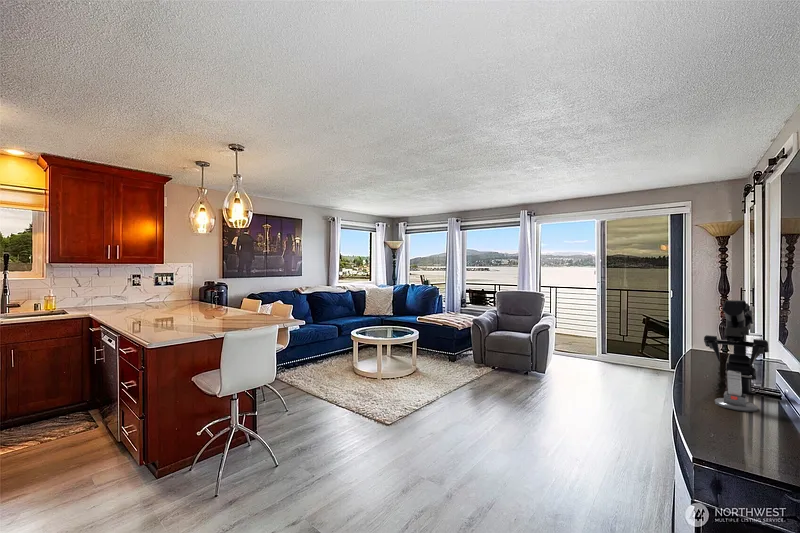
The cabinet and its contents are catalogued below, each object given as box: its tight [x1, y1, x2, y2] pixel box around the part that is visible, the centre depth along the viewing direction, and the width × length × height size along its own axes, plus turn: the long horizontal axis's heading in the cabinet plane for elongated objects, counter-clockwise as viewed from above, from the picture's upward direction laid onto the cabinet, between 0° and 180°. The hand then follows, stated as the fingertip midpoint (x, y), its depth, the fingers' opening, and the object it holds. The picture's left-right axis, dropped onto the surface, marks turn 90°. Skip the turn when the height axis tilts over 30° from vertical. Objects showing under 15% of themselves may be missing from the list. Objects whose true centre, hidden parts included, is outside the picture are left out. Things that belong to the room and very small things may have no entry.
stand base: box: [714, 390, 759, 413], centre depth 138 cm, size 12×12×4 cm
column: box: [726, 370, 742, 397], centre depth 138 cm, size 4×4×12 cm
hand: (734, 363), depth 142 cm, fingers open, 9 cm apart
